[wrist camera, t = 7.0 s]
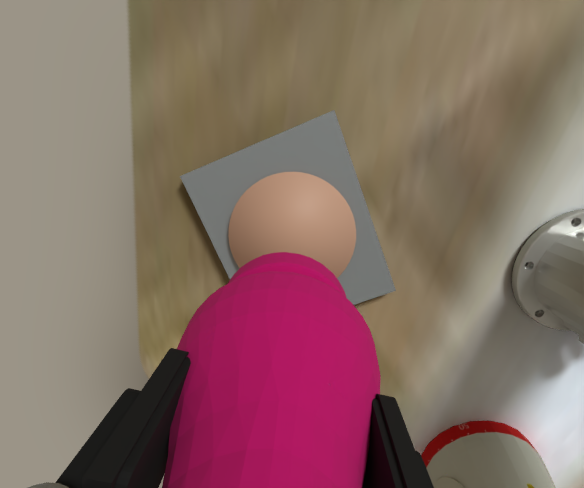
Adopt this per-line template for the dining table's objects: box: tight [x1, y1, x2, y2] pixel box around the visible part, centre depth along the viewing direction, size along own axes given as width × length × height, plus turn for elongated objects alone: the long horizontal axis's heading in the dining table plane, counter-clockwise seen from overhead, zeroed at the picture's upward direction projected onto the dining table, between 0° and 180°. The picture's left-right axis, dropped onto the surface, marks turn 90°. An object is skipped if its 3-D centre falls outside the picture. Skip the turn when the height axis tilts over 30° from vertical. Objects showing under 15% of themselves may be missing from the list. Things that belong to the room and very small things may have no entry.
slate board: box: [180, 110, 396, 305], centre depth 31 cm, size 18×15×2 cm
